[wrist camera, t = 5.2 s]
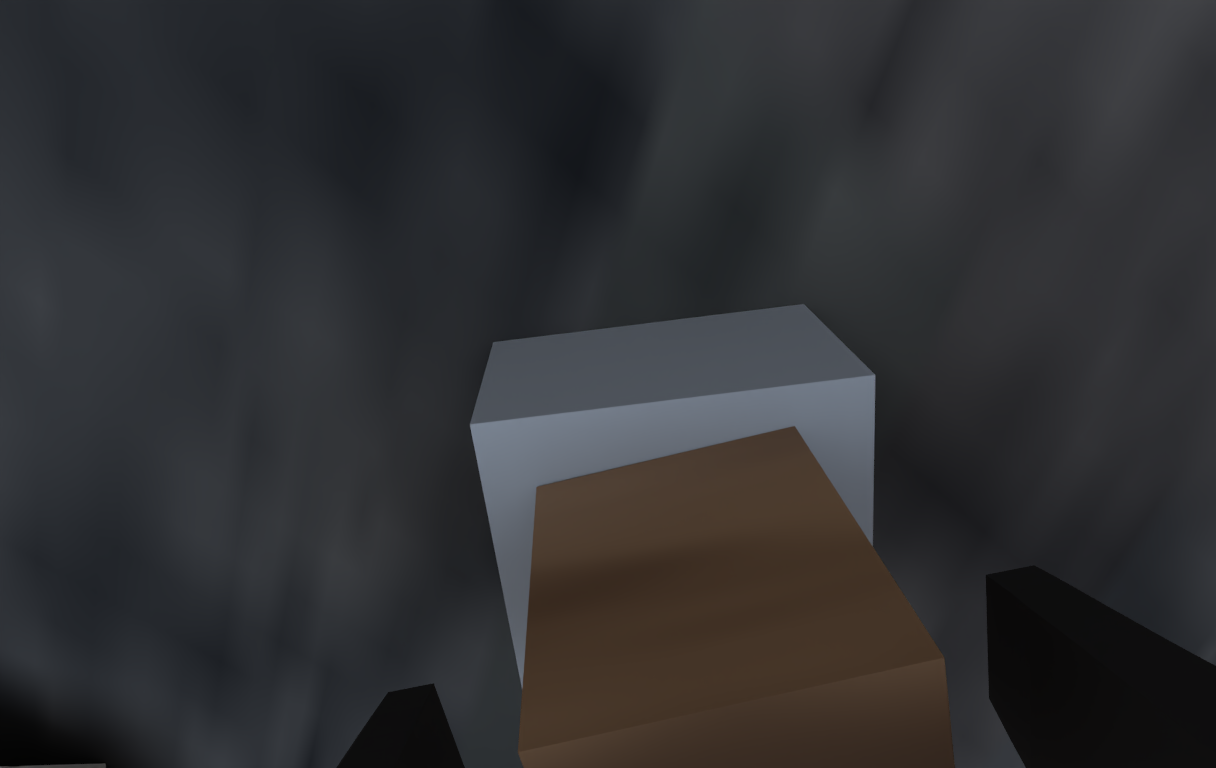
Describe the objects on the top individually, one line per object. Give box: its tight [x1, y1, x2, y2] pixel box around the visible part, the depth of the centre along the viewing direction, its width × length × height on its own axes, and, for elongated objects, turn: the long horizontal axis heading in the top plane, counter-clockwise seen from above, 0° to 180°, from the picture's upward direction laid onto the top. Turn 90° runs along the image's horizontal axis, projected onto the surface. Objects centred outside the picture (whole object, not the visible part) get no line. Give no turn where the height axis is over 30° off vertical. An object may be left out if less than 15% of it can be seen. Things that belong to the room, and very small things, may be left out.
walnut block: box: [518, 426, 955, 768], centre depth 10 cm, size 4×4×5 cm
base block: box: [470, 304, 875, 688], centre depth 14 cm, size 6×6×4 cm
